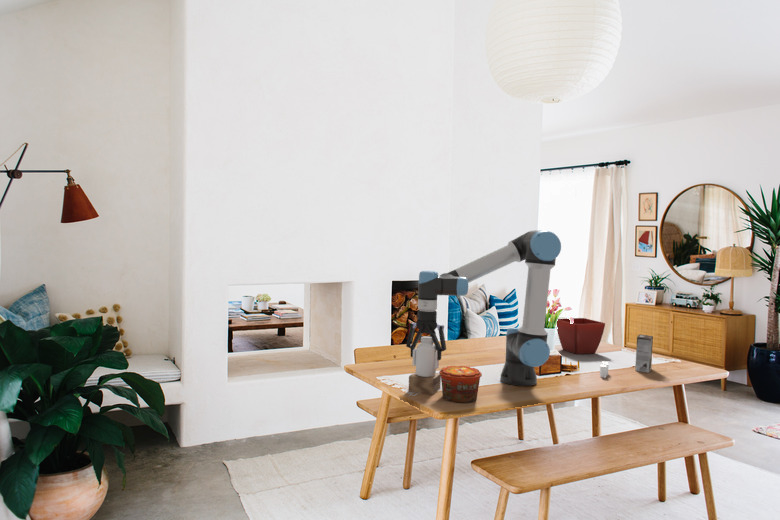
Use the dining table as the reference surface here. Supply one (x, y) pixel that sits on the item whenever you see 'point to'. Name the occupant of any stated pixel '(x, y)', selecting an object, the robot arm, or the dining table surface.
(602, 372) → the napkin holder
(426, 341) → the pill bottle
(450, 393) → the food container
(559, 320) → the plant pot
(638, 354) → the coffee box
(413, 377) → the walnut block
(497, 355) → the dining table surface
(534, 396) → the dining table surface
